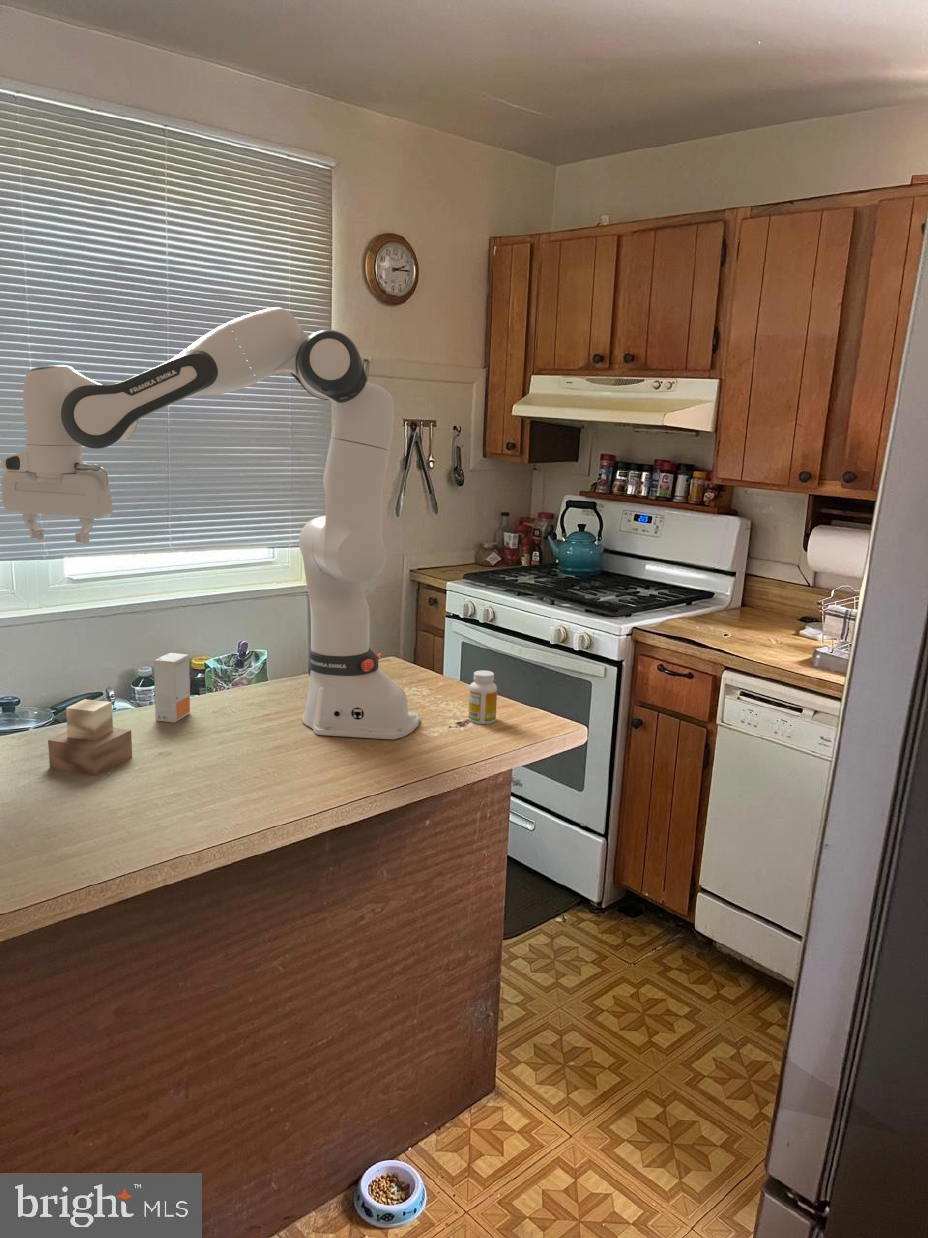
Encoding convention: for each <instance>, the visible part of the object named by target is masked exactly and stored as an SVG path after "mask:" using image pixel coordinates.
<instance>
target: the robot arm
mask: <svg viewBox="0 0 928 1238" xmlns="http://www.w3.org/2000/svg"><path fill="white" fill-rule="evenodd" d="M281 373H289V374H290V375H292V377H293V378H294V379H295V380H296V381H297V382H298V383H299V384H300V386H301V387H302V388H303V389H304V390H305V391H306V392H307V393H308V394H310V395H311V396H313V398H314V397H315V398H316V399H320V400H324V401H330V403H331V405H332V407H333V424H332V430H331V435H330V439H329V440H330V441H329V445H328V452H327V456H326V457H327V458H326V462H325V466H324V472H323V479H322V484H323V488H324V495H325V515H322V516H321V515H320V516H318V517H315V518H312V519H310V520H309V521H308V522H306V524H304V525H303V527H302V529H301V530H300V533H299V537H298V545H299V546H298V547H299V549H300V554H301V555H302V559H303V560H302V561H303V569H304V574H305V582H306V588H307V589H306V590H307V593H308V599H309V608H310V609H309V611H310V647H309V649H308V658H307V668H308V669H307V671H308V677H309V683H308V684H309V685H308V690H307V692H308V693H307V698H306V703H305V708H304V712H303V715H302V719H301V721H302V723H303V725H305V726H307V727H309V728H310V729H312V730H313V732H314V734H316V735H317V736H318V735H319V736H329V737H330V736H332V737H333V736H334V737H345V738H347V737H348V738H351V737H352V738H362V739H363V738H365V739H366V738H367V739H381V740H382V739H383V740H396V739H400V738H403V737H406V736H407V735H409V734H411V733H412V732H414V730H416V728H417V727H418V726H419V724H420V716H419V714H418V713H417V712H414V711H409V706H408V700H407V695H406V692H405V691H404V689H403V688H402V687H401V686H400V685H398V684H397V682H395V681H394V680H392V679H391V678H390V677H389V676H387V675H386V674H385V673H384V672H383V671H381V670H380V669H379V660H381V659H382V657H381V655H382V653H381V652H379V653H377V654H376V653H375V652H374V651H373V650H372V649H371V648H370V625H371V624H370V615H371V614H370V613H371V612H370V607H369V604H368V602H367V599H366V594H365V590H364V585H363V584H364V583H365V584H366V583H368V582H371V581H373V580H374V579H376V578H378V577H379V575H381V573H382V571H383V570H384V568H385V566H386V564H387V559H388V558H387V557H388V556H387V554H388V553H387V552H388V551H387V548H386V547H387V546H386V545H385V542H384V538H383V496H384V495H383V494H384V486H385V482H386V475H387V469H388V464H389V460H390V459H389V458H390V454H391V448H392V442H393V434H394V423H395V402H394V398H393V396H392V395H391V393H390V392H389V391H388V390H387V389H385V388H384V387H382V386H380V385H378V384H376V383H372V382H369V381H368V377H367V373H366V371H365V368H364V365H363V362H362V357H361V354H360V352H359V350H358V348H357V345H356V344H355V343H354V342H353V340H352V339H350V337H348V335H346V334H344V333H342V332H340V331H337V330H333V329H322V330H318V331H316V332H313V333H311V334H310V335H309V334H307V333H306V332H305V331H304V330H303V329H302V327H301V324H300V323H299V321H298V320H297V318H296V317H295V316H294V315H293V314H292V313H291V312H289V311H288V310H287V309H285V308H283V307H280V306H279V307H277V306H276V307H270V308H265V309H262V310H259V311H254V312H252V313H249V314H246V315H242V316H240V317H237V318H235V319H232V320H230V321H228V322H226V323H224V324H222V325H219V326H217V327H216V328H214V329H212V330H210V331H209V332H207V333H206V334H204V335H203V336H201V337H200V338H198V339H197V340H196V341H194V342H193V343H192V344H190V345H189V346H188V347H186V348H185V349H183V350H182V351H181V352H180V353H178V354H177V355H175V356H174V357H172V358H171V359H169V360H167V361H166V362H164V363H162V364H159V365H158V366H155V367H153V368H150V369H149V370H146V371H143V372H142V373H139V374H136V375H134V376H132V377H129V378H127V379H125V380H122V381H120V382H117V383H114V384H113V383H112V384H101V383H99V382H97V381H94V380H92V379H90V378H89V377H86V376H85V375H83V374H82V373H80V372H78V370H75V368H74V367H73V366H70V365H67V364H56V365H55V364H53V365H52V364H51V365H45V366H38V367H35V368H32V369H31V370H29V371H28V372H27V373H26V374H25V376H24V379H23V380H24V381H23V388H22V391H23V392H22V409H23V418H24V423H25V424H26V430H27V431H26V438H25V450H22V451H20V452H17V453H15V454H12V455H9V456H8V455H7V456H6V457H3V458H2V459H1V461H0V462H1V463H0V464H1V465H0V466H1V468H2V470H3V471H5V472H4V473H3V474H2V476H1V477H2V478H1V501H2V506H3V507H4V509H5V510H6V511H7V512H8V513H18V514H22V520H23V521H24V523H25V526H26V527H27V528H28V530H29V538H30V539H31V540H38V541H39V540H42V539H43V540H44V538H45V535H44V528H40V526H39V524H38V522H37V519H38V518H39V515H40V516H41V515H42V516H43V515H44V516H54V517H55V516H56V517H66V518H67V517H69V518H78V519H79V524H80V525H81V527H80V531H79V532H76V533H75V534H74V536H75V543H77V544H83V545H84V544H89V542H90V532H91V530H92V529H93V527H94V525H95V520H96V519H97V520H98V519H99V520H101V519H102V520H103V519H107V518H110V517H111V515H112V513H113V509H114V508H113V500H112V494H111V489H110V484H109V474H108V472H107V471H106V469H104V468H103V467H102V466H101V465H100V464H97V463H96V464H95V463H93V464H90V463H83V447H85V448H87V449H88V448H89V449H103V448H107V447H110V446H111V445H113V444H117V443H120V442H121V443H122V442H123V441H125V440H126V439H128V438H129V437H130V436H132V435H133V433H134V432H135V430H136V429H137V425H138V420H140V419H142V418H144V417H146V416H148V415H150V414H153V413H155V412H158V411H159V410H161V409H163V408H166V407H168V406H170V405H172V404H174V403H177V402H179V401H182V400H185V399H189V398H192V397H199V396H211V395H212V396H215V395H223V394H228V393H232V392H236V391H239V390H242V389H245V388H248V387H250V386H252V385H255V384H257V383H259V382H261V381H263V380H265V379H267V378H269V377H272V376H274V375H277V374H281ZM82 446H83V447H82Z"/></svg>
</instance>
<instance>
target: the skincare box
mask: <svg viewBox="0 0 928 1238" xmlns="http://www.w3.org/2000/svg"><path fill="white" fill-rule="evenodd" d="M153 677H154V682H153V683H154V710H155V711H154V712H155V713H154V716H155V721H156V722H164V723H165V722H166V723H176V722H178V721H180V720H181V719H183V718H185V717H187V716H188V715H191V689H190V686H191V685H190V683H191V682H190V678H191V677H190V655H189V654H185V653H177V652H169V653H166V654H164V655H162V656H159V658H157V659H154V660H153Z"/></svg>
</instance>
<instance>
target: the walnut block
mask: <svg viewBox="0 0 928 1238" xmlns="http://www.w3.org/2000/svg"><path fill="white" fill-rule="evenodd" d="M47 743H48V744H47V745H48V759H49V761H48V762H49V768H50V767H51V768H52V769H56V770H61V771H68V772H72V773H73V772H74V773H77V774H83V775H90V776H95V777H97V776H98V775H100V774H102V773H104V772H106V771H107V770H110V769H111V768H114V767H116V766H117V765H119V764H121V763H123V762H125V761H127V760H130V758H133V744H132V730H131V729H128V728H120V727H114V726H113V731H112V732H110V733H108V734H106V735H104V736H103V737H101V738H99V739H97V740H95V741H94V740H86V739H77V738H69V737H68V734H67V731H65V732H63V733H61V734H58V735H57V736H54V737H52V738H49V739H47Z"/></svg>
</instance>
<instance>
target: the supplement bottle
mask: <svg viewBox="0 0 928 1238" xmlns="http://www.w3.org/2000/svg"><path fill="white" fill-rule="evenodd" d="M473 680H474V681H473V682H471V683H470V685H469V693H468V694H469V699H468V720H469V721H470V722H471V723H473V724H475V725H489V724H493V723H495V721H496V719H497V702H498V701H497V699H498V686H497V684H496V683H495V682H494V681H495V673H494V672H492V671H490V670H476V671H474V672H473Z"/></svg>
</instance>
